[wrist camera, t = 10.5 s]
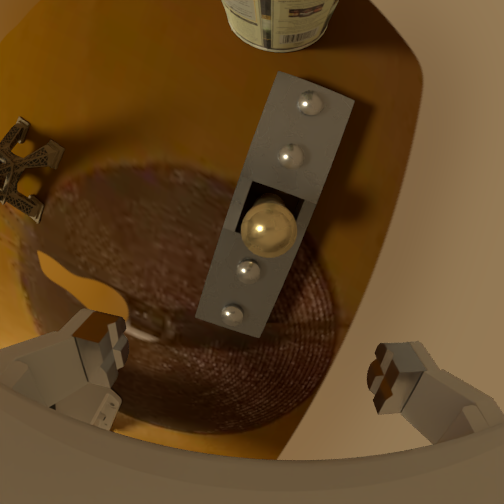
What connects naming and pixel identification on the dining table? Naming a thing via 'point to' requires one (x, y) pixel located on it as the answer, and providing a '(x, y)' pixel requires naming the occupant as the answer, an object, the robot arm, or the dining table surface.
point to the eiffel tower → (7, 175)
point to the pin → (269, 227)
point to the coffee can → (279, 22)
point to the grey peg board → (281, 178)
